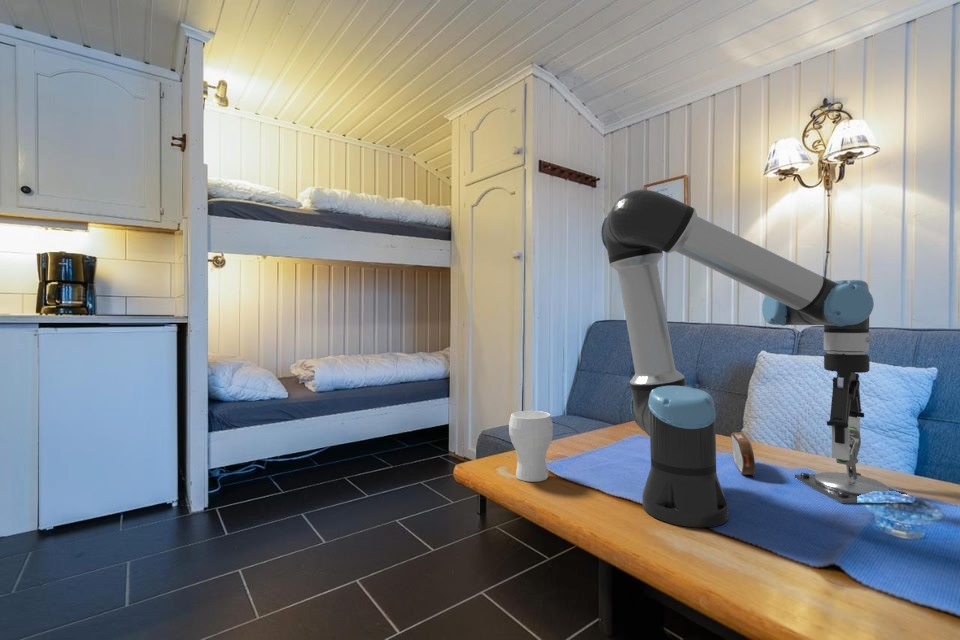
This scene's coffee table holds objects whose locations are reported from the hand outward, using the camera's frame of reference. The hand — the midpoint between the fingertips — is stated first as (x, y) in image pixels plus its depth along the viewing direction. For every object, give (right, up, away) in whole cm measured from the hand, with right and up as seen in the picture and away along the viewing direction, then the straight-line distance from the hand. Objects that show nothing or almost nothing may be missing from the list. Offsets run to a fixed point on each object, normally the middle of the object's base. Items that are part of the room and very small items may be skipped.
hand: (846, 452), depth 95 cm
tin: (-14, -9, +15) cm, 22 cm away
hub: (+1, -8, 0) cm, 8 cm away
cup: (-66, -10, +13) cm, 68 cm away
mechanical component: (+3, -6, +1) cm, 7 cm away
